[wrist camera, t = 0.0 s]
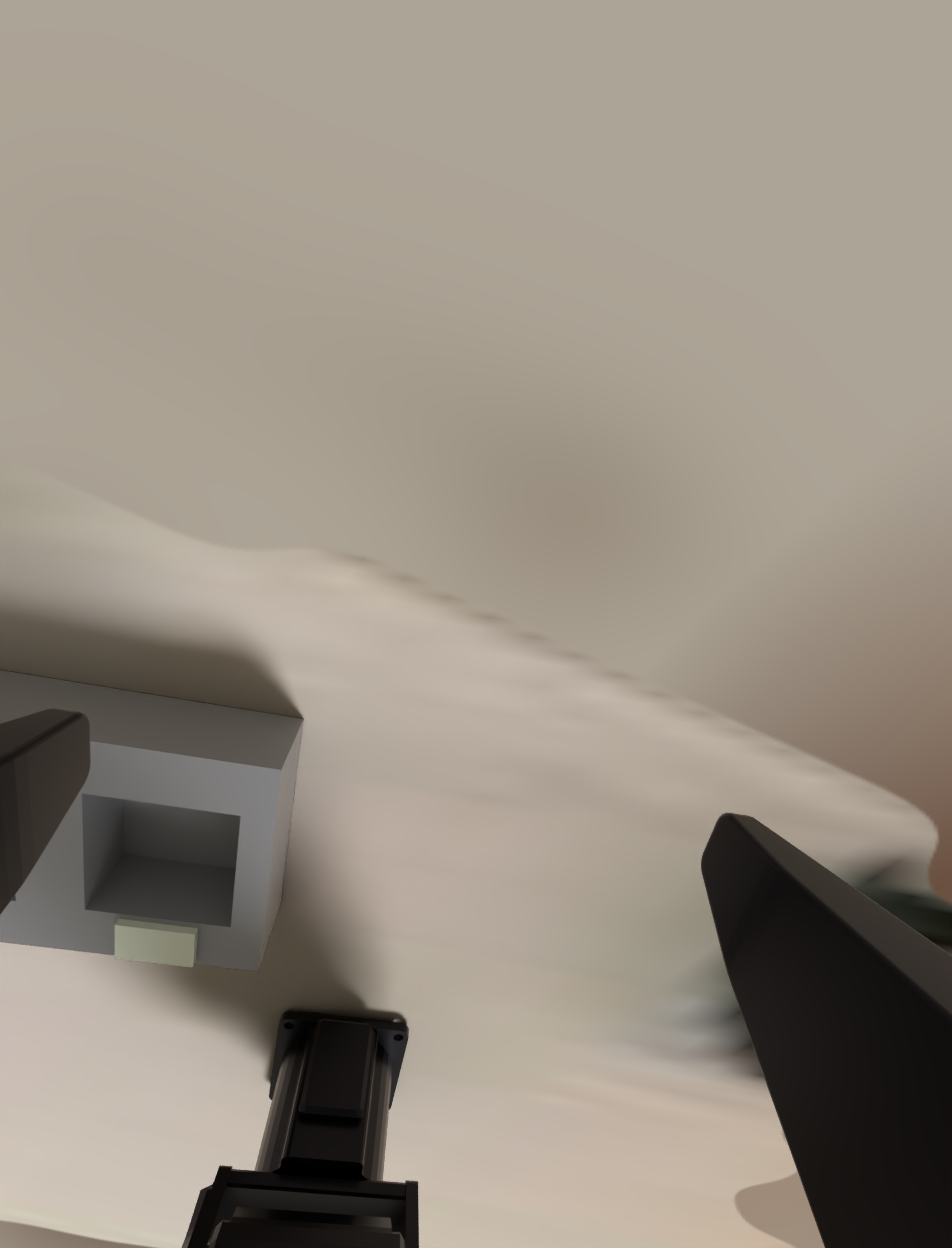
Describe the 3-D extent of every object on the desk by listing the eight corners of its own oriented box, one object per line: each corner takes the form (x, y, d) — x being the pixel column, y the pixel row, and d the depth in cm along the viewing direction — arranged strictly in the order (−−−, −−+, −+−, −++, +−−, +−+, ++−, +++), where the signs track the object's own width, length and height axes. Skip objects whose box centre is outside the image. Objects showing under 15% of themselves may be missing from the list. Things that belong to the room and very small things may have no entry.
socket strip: (280, 904, 28) (255, 978, 25) (-93, 856, 27) (-176, 929, 23) (303, 719, 25) (278, 775, 21) (-125, 650, 23) (-229, 698, 20)
